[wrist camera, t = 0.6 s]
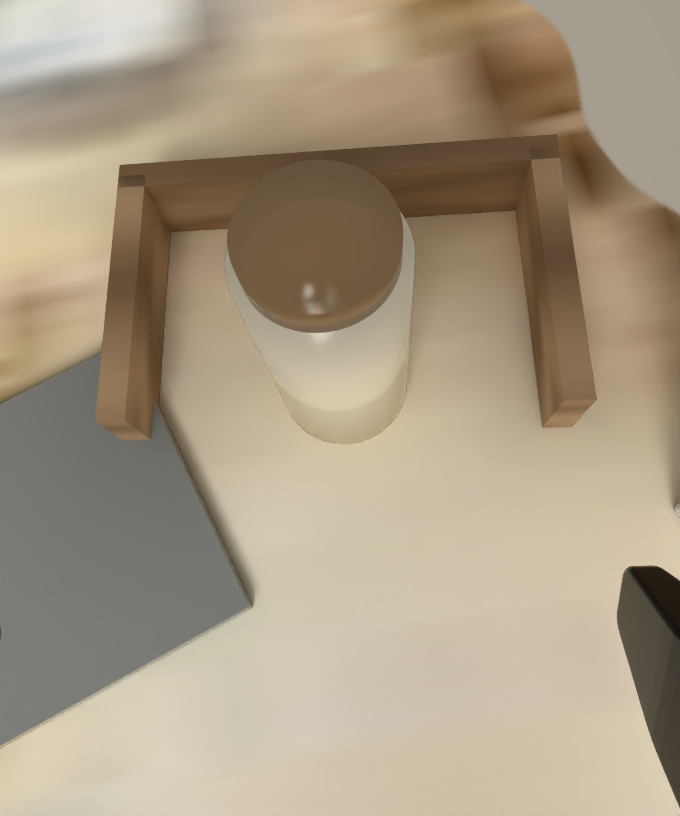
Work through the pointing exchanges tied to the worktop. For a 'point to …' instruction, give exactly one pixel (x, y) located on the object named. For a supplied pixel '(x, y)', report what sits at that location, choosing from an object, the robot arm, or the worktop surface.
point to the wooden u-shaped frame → (415, 196)
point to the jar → (326, 294)
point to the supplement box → (677, 509)
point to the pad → (96, 552)
